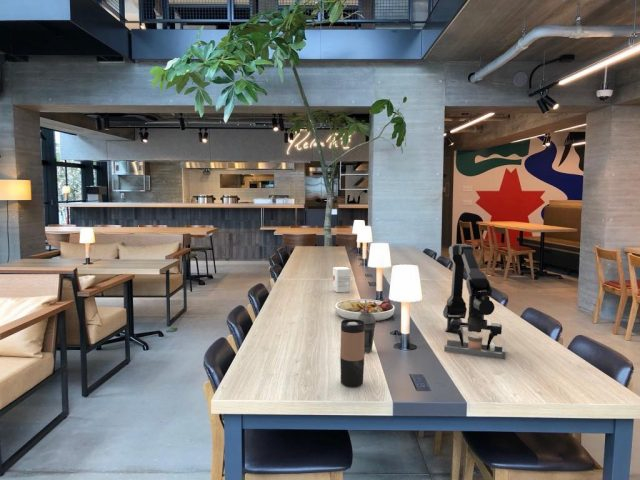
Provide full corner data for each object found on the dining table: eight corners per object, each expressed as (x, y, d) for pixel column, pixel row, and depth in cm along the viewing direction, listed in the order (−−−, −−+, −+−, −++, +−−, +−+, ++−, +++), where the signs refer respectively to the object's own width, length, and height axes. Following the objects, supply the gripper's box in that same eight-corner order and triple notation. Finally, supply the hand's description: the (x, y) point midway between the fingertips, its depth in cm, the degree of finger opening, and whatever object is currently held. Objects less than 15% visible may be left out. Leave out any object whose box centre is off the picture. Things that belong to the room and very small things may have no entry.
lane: (447, 344, 184) (447, 336, 184) (505, 351, 176) (505, 344, 175) (444, 351, 176) (444, 343, 175) (505, 359, 167) (505, 351, 167)
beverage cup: (360, 354, 171) (361, 303, 169) (353, 348, 178) (354, 298, 176) (378, 353, 173) (379, 302, 171) (371, 347, 180) (372, 297, 178)
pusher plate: (490, 350, 176) (490, 342, 176) (494, 350, 176) (495, 343, 176) (489, 355, 171) (490, 347, 170) (494, 356, 170) (494, 348, 170)
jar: (468, 348, 179) (468, 334, 179) (482, 350, 177) (483, 336, 176) (466, 352, 174) (467, 338, 174) (481, 354, 172) (482, 340, 172)
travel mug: (362, 378, 149) (363, 318, 147) (365, 387, 141) (366, 325, 139) (339, 378, 149) (339, 318, 147) (340, 388, 141) (341, 325, 139)
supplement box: (332, 290, 290) (332, 267, 288) (345, 289, 292) (345, 266, 291) (337, 293, 281) (337, 269, 280) (350, 292, 284) (350, 268, 282)
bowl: (346, 325, 211) (346, 308, 211) (328, 309, 240) (328, 295, 239) (404, 321, 219) (404, 305, 218) (380, 306, 248) (380, 292, 247)
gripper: (448, 310, 170) (447, 350, 172) (502, 316, 163) (500, 358, 164) (452, 304, 181) (451, 342, 182) (502, 309, 173) (500, 348, 175)
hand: (474, 347), depth 176 cm, fingers open, 9 cm apart
